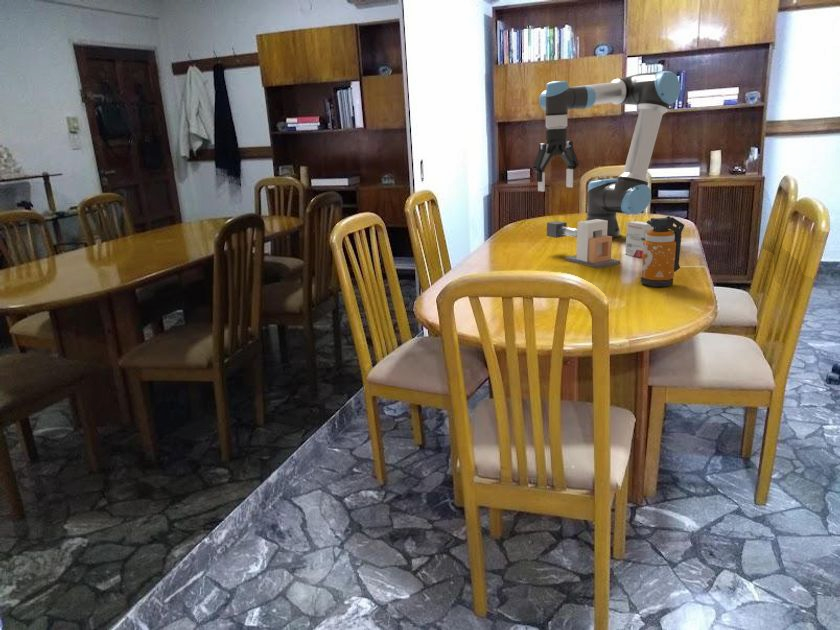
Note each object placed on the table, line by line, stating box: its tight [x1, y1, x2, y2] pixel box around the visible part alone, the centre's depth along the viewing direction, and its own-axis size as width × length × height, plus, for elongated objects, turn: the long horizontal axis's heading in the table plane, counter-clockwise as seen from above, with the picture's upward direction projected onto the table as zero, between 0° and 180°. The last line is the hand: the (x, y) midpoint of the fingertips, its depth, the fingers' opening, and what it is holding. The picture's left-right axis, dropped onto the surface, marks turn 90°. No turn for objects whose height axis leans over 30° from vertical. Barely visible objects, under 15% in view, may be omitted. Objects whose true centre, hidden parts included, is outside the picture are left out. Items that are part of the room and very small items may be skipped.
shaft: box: [546, 220, 596, 239], centre depth 220 cm, size 20×5×5 cm, turn 30°
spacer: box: [589, 236, 613, 263], centre depth 209 cm, size 2×8×8 cm, turn 120°
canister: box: [640, 215, 686, 288], centre depth 180 cm, size 9×11×20 cm
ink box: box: [624, 220, 654, 259], centre depth 218 cm, size 8×5×12 cm, turn 26°
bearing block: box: [564, 219, 621, 269], centre depth 212 cm, size 16×10×14 cm, turn 30°
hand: (555, 189), depth 223 cm, fingers open, 13 cm apart
